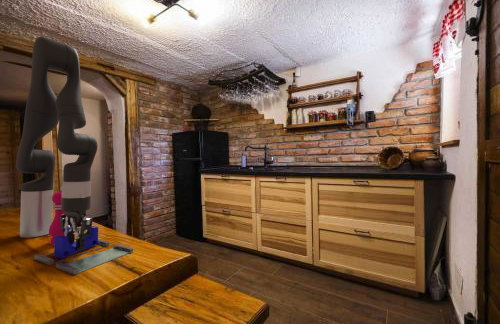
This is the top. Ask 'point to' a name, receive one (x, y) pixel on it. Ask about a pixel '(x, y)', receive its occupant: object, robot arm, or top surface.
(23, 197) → the robot arm
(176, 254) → the top surface
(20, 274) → the top surface
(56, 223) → the pepper mill
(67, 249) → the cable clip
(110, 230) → the top surface
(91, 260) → the panel
